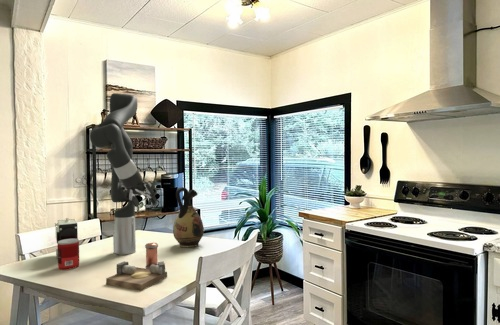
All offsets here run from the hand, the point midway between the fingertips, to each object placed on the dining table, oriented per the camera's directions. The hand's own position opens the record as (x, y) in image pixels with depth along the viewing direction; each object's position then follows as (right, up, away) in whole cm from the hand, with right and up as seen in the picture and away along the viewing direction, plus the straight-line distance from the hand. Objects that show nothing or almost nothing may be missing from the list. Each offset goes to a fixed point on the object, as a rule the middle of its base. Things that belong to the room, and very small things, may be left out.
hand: (146, 204), depth 141 cm
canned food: (-33, -27, +4) cm, 43 cm away
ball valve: (-42, -26, +18) cm, 53 cm away
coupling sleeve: (+2, -26, 0) cm, 26 cm away
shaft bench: (+1, -26, -13) cm, 29 cm away
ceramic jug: (+10, -26, +36) cm, 45 cm away
